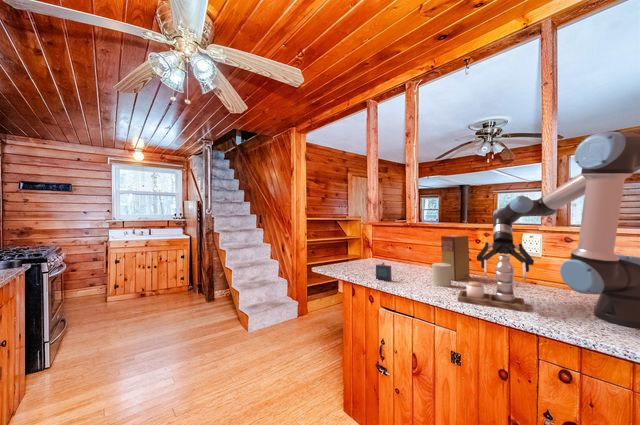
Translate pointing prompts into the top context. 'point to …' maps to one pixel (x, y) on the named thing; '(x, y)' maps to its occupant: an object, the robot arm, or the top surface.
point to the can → (441, 274)
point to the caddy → (493, 301)
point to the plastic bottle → (504, 280)
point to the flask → (383, 272)
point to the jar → (475, 290)
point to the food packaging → (456, 255)
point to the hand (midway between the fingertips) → (504, 275)
